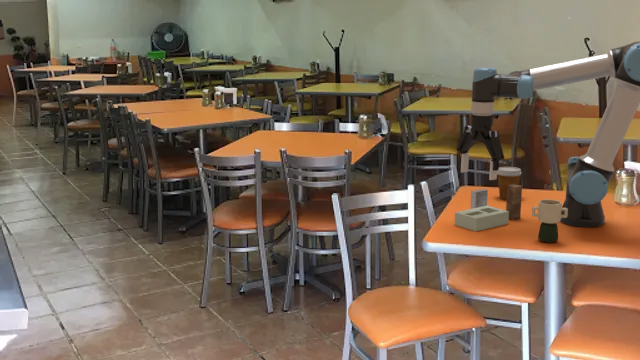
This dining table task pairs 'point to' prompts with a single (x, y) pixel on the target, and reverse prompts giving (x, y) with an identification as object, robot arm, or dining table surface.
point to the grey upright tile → (479, 198)
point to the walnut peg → (514, 201)
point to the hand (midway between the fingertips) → (478, 175)
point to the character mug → (549, 218)
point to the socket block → (481, 218)
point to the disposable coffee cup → (507, 179)
